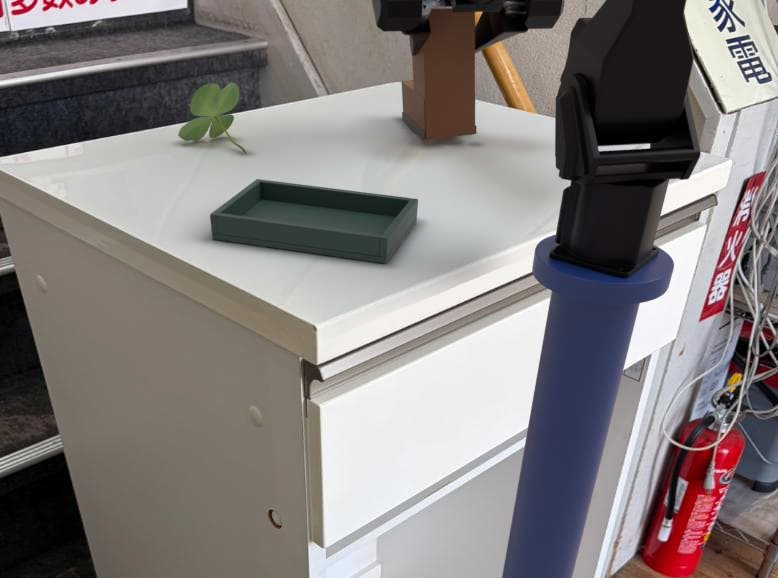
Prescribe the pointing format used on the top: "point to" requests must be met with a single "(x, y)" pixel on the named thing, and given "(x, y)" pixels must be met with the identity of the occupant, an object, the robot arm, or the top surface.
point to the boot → (443, 79)
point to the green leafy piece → (211, 112)
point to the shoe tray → (316, 220)
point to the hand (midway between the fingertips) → (441, 50)
